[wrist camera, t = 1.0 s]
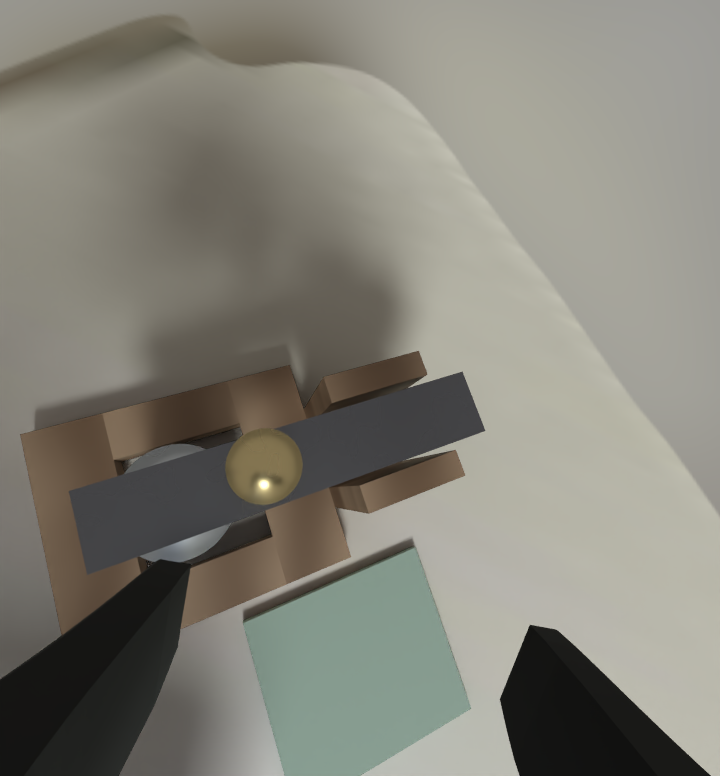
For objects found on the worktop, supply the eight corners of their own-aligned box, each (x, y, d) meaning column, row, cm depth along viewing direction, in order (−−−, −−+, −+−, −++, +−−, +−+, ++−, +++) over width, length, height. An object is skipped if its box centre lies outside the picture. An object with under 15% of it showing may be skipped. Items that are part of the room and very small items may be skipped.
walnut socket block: (82, 664, 17) (-37, 782, 10) (34, 437, 19) (-98, 405, 12) (414, 524, 22) (489, 539, 15) (354, 353, 24) (397, 295, 17)
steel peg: (165, 556, 19) (127, 583, 13) (144, 472, 20) (99, 464, 14) (251, 524, 20) (250, 537, 15) (228, 446, 21) (219, 429, 15)
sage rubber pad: (294, 808, 18) (295, 814, 18) (243, 620, 19) (242, 623, 19) (467, 704, 21) (471, 708, 20) (412, 546, 22) (415, 547, 21)
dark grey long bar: (99, 569, 13) (35, 600, 9) (81, 490, 13) (13, 490, 9) (472, 434, 17) (534, 417, 13) (451, 378, 17) (505, 346, 14)
